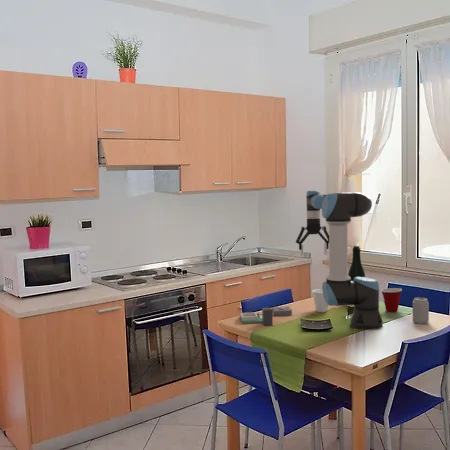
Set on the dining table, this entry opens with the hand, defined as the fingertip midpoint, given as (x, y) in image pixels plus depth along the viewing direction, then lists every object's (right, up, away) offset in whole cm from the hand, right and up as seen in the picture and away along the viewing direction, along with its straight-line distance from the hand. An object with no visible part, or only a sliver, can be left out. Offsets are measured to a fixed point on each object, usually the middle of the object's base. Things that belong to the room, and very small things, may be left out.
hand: (313, 255), depth 308 cm
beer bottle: (+25, -28, +1) cm, 37 cm away
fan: (-20, -30, -18) cm, 40 cm away
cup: (+2, -30, -15) cm, 33 cm away
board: (-36, -32, -29) cm, 56 cm away
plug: (-29, -32, -39) cm, 58 cm away
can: (+46, -31, -42) cm, 69 cm away
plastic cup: (+38, -29, -19) cm, 52 cm away
